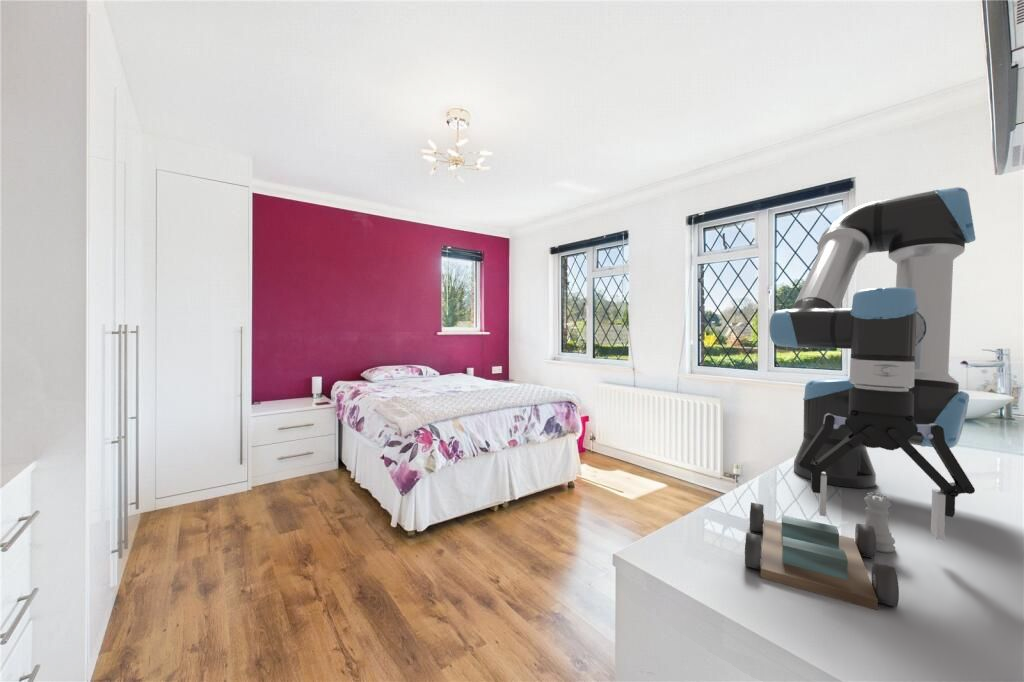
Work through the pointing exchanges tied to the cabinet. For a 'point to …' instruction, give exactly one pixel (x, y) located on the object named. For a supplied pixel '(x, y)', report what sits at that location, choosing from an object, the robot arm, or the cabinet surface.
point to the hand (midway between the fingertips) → (876, 524)
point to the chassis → (820, 559)
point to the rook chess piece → (879, 521)
